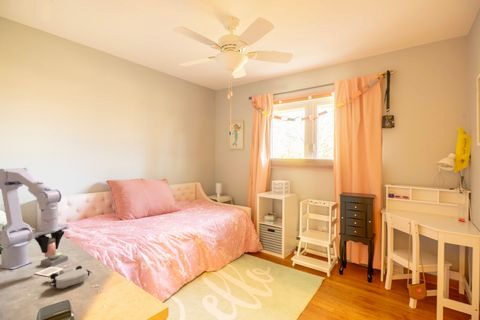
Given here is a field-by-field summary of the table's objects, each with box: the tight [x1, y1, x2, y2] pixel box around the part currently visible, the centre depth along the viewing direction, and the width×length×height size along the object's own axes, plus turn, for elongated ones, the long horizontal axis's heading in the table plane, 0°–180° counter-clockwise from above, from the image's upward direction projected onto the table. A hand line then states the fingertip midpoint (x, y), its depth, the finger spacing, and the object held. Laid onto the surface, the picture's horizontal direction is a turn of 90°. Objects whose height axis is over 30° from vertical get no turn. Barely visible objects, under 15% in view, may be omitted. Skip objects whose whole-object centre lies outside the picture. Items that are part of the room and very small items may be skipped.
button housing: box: [40, 254, 69, 267], centre depth 106 cm, size 7×7×2 cm
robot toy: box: [48, 265, 93, 289], centre depth 89 cm, size 12×4×15 cm
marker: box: [44, 237, 57, 258], centre depth 98 cm, size 4×4×7 cm
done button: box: [47, 251, 62, 260], centre depth 106 cm, size 5×5×3 cm
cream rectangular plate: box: [34, 266, 64, 278], centre depth 98 cm, size 8×6×1 cm
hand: (50, 250), depth 98 cm, fingers closed on marker, 4 cm apart
